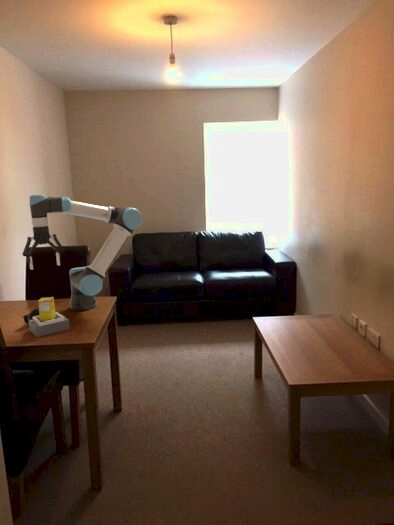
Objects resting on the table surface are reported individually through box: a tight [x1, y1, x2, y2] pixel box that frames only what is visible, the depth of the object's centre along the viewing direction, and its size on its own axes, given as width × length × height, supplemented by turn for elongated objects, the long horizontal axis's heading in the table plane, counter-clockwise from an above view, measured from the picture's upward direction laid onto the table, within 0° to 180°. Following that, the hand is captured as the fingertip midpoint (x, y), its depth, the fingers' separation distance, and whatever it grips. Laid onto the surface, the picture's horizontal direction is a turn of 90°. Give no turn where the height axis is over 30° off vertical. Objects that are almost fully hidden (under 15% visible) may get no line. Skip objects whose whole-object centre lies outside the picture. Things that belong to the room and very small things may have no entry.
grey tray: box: [28, 311, 71, 338], centre depth 208 cm, size 16×12×6 cm
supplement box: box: [37, 296, 56, 322], centre depth 207 cm, size 6×6×11 cm
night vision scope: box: [21, 307, 40, 325], centre depth 221 cm, size 8×18×10 cm
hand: (45, 267), depth 217 cm, fingers open, 13 cm apart
